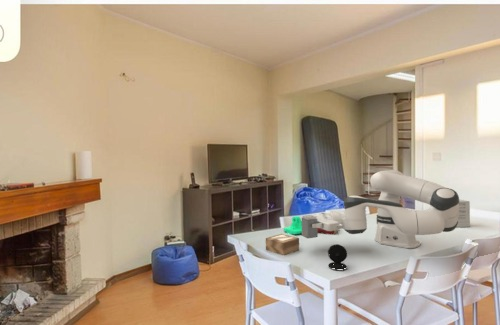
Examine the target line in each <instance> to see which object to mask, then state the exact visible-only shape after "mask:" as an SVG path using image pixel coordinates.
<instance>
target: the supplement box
mask: <svg viewBox="0 0 500 325" xmlns="http://www.w3.org/2000/svg"><path fill="white" fill-rule="evenodd" d="M470 204H471V203H470V200H465V199H459V217H458V224H457V226H456V228H471V212H470V211H471V210H470V209H471V208H470V207H471V205H470Z"/></svg>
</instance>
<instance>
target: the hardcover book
mask: <svg viewBox="0 0 500 325" xmlns="http://www.w3.org/2000/svg"><path fill="white" fill-rule="evenodd" d="M317 229H318V234H325V235H334V236H335V235H336V233H337V232H338V231H339V230H334V231H326V230H324V229H321V228H317Z"/></svg>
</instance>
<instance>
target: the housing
mask: <svg viewBox="0 0 500 325" xmlns="http://www.w3.org/2000/svg"><path fill="white" fill-rule="evenodd" d="M313 215H314V214H308V215H302V217H301V221H302V233H301V236H302V237H304V238H306V239H313V238H314V239H315V238H318V236H319V233H318V229H317V228H312V227H311V224H313V223H315V224H317V219H316V216H313Z"/></svg>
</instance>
